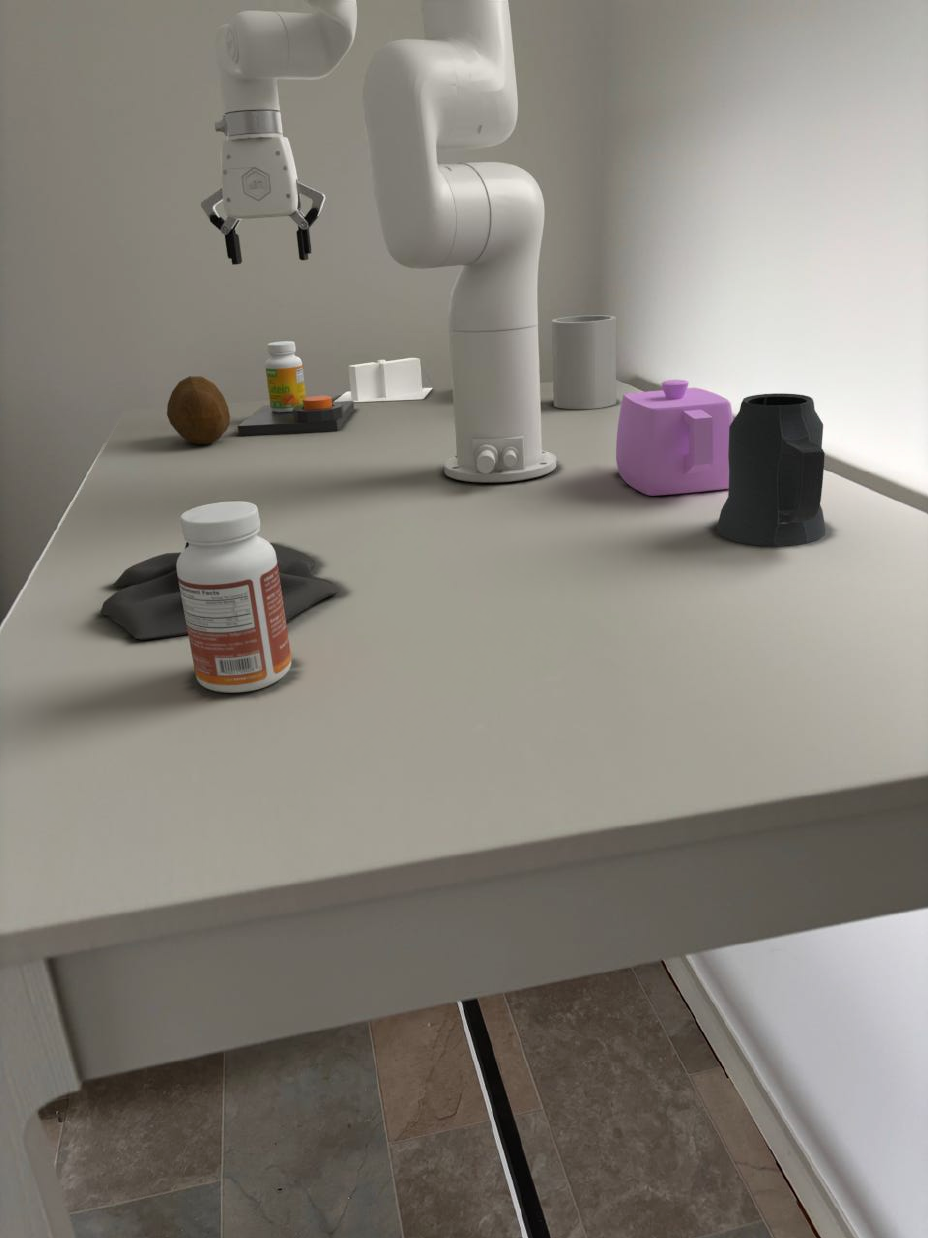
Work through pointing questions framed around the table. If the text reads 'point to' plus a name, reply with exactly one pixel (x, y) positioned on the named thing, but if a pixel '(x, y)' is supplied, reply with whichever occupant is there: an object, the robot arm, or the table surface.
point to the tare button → (317, 402)
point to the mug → (774, 472)
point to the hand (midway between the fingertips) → (270, 261)
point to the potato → (198, 410)
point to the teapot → (674, 440)
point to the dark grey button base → (296, 420)
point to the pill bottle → (232, 599)
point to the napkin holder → (385, 381)
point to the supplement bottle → (284, 377)
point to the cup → (584, 361)
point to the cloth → (159, 603)
